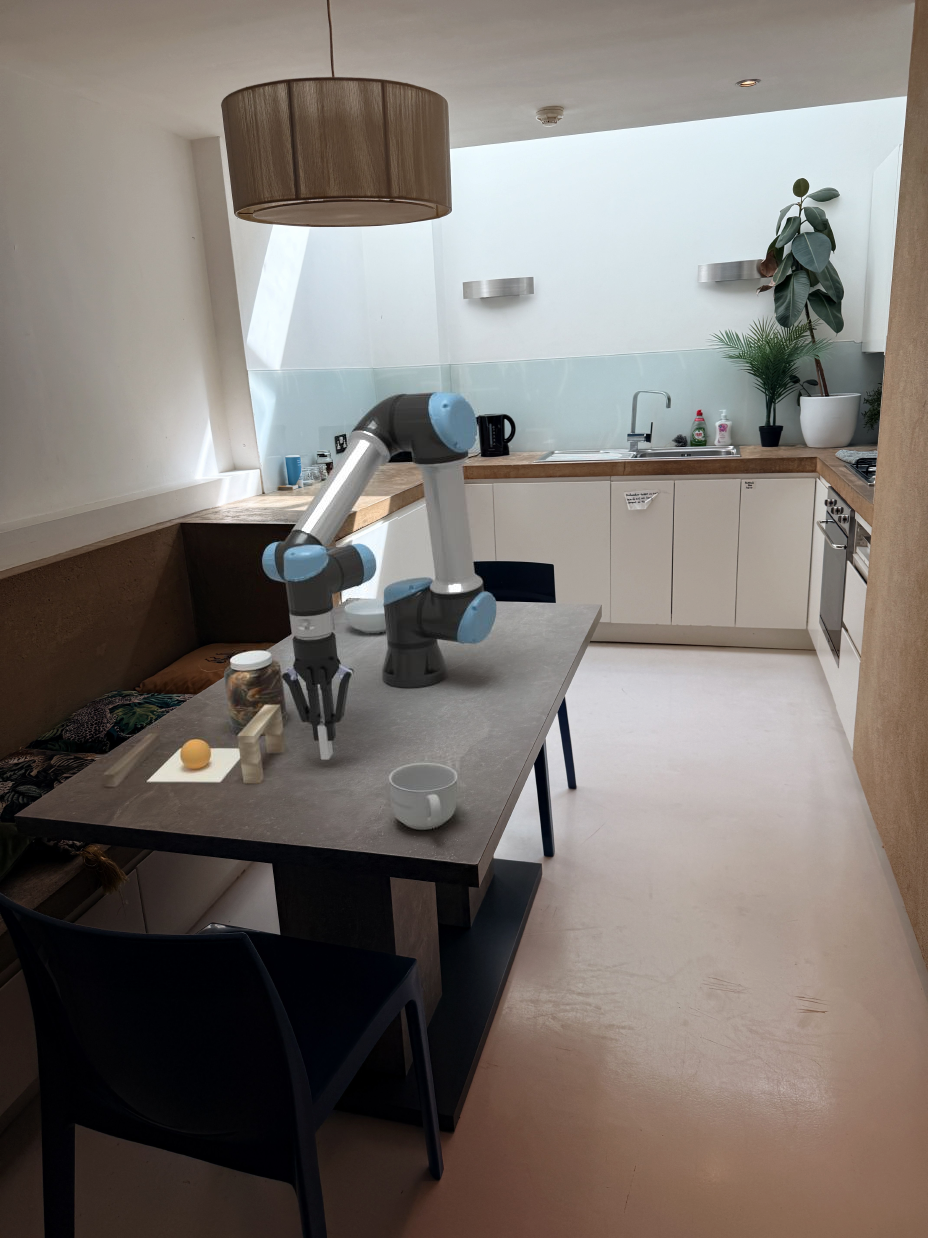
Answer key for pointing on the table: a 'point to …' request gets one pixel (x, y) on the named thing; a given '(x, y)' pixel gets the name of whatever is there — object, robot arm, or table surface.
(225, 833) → the table surface
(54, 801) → the table surface
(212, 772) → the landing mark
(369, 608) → the cereal bowl
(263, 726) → the bridge
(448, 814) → the teacup
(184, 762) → the ball
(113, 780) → the stopper
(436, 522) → the robot arm
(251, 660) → the jar
